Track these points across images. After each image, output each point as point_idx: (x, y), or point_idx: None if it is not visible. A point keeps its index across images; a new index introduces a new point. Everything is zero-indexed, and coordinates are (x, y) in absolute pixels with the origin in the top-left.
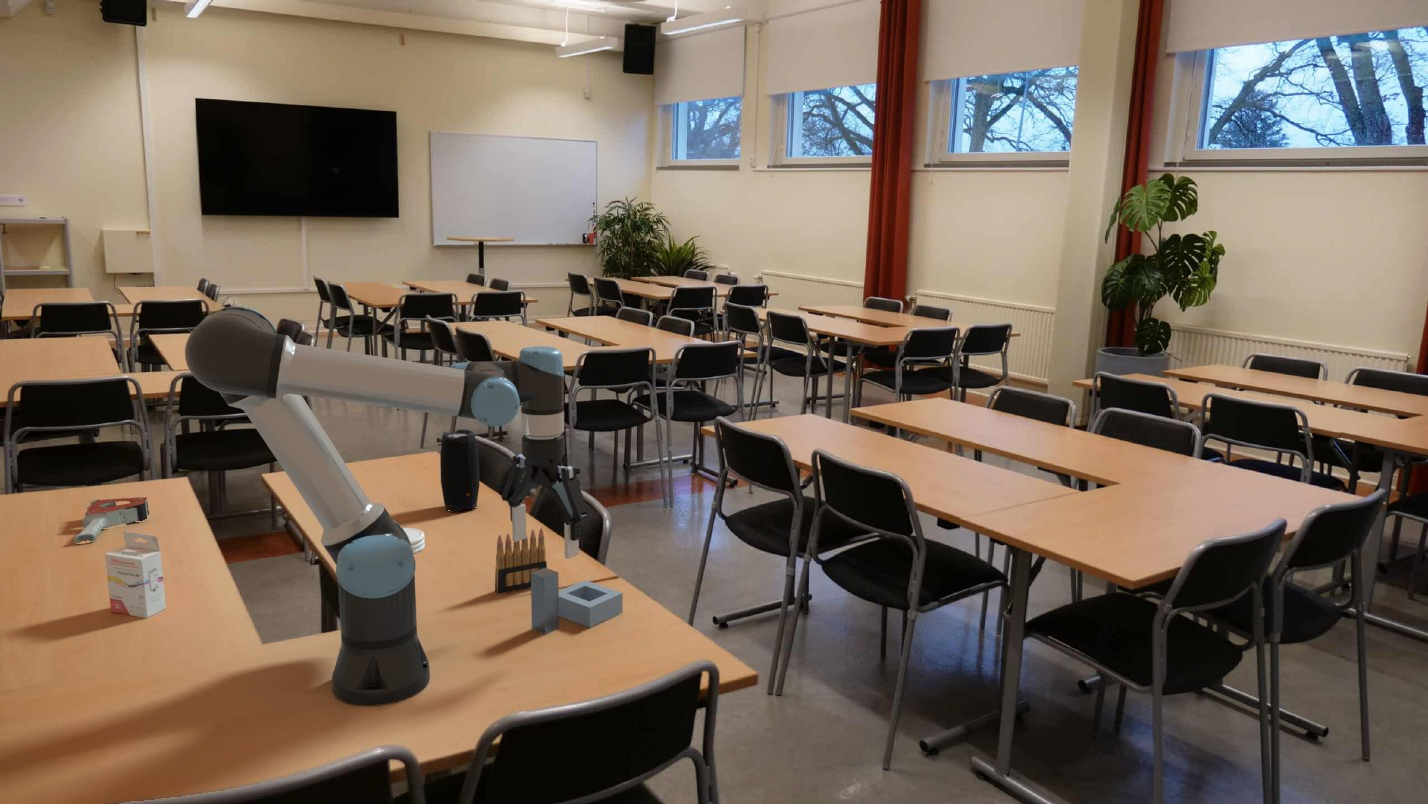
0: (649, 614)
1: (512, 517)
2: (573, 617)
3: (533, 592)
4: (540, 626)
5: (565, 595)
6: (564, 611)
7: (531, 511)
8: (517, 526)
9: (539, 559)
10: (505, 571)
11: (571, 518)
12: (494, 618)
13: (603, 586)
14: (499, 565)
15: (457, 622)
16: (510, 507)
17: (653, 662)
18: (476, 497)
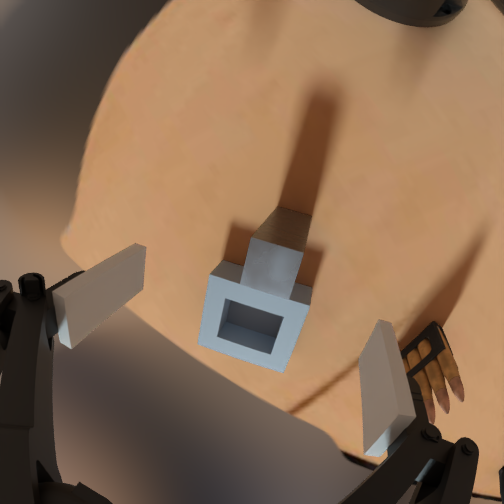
0: (174, 329)
1: (405, 381)
2: None
3: (299, 234)
4: (287, 211)
5: (280, 307)
6: None
7: None
8: (380, 361)
9: None
10: (433, 353)
11: (21, 298)
12: (398, 230)
13: (239, 358)
14: (445, 354)
15: (448, 191)
16: (427, 422)
17: (96, 195)
18: (500, 480)
